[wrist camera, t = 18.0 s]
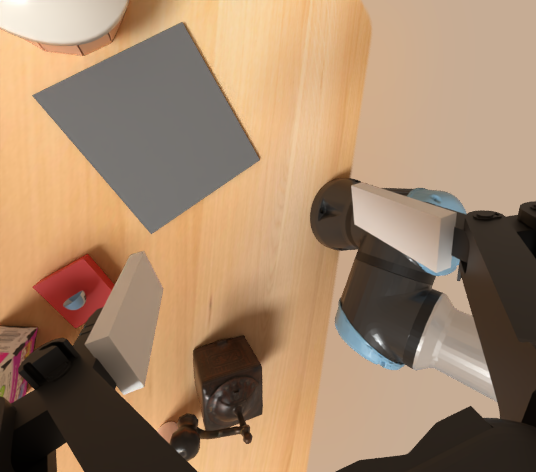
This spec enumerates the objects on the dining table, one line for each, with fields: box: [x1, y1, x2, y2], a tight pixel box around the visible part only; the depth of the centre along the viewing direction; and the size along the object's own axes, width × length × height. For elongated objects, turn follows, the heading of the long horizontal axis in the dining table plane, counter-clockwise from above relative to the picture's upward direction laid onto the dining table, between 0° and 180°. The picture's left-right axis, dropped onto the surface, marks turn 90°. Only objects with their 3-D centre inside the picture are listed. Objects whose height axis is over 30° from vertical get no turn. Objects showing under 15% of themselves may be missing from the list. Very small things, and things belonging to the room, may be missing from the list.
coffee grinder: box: [169, 336, 263, 461], centre depth 41 cm, size 16×11×18 cm
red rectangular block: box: [33, 254, 115, 329], centre depth 36 cm, size 8×7×6 cm
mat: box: [32, 22, 260, 234], centre depth 38 cm, size 22×22×1 cm
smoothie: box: [158, 422, 178, 443], centre depth 42 cm, size 6×6×14 cm
